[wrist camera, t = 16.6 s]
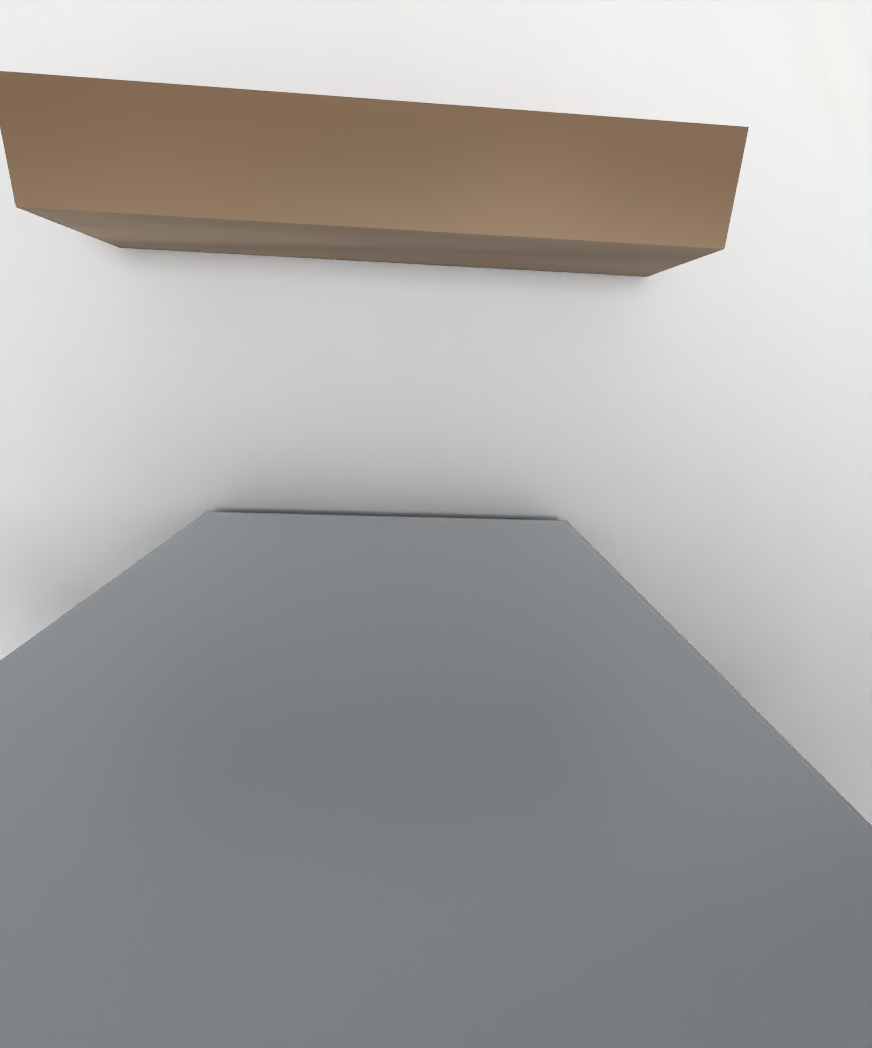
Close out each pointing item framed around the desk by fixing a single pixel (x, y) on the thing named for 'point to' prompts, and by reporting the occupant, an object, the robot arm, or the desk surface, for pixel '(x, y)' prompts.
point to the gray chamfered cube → (409, 809)
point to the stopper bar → (366, 176)
